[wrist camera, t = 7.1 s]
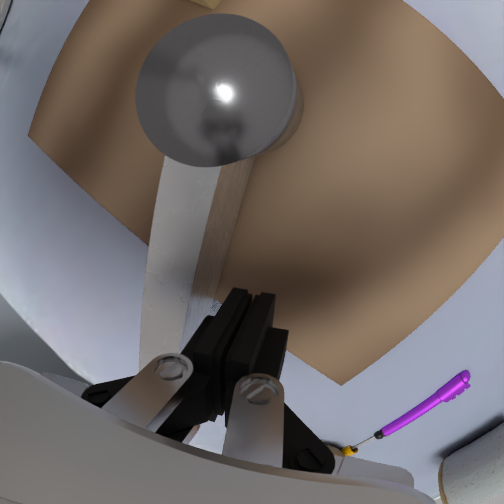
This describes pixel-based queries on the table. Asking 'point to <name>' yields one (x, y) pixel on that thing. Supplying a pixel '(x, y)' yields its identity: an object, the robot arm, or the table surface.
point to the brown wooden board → (311, 164)
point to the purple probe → (420, 408)
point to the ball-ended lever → (205, 158)
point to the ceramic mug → (474, 470)
